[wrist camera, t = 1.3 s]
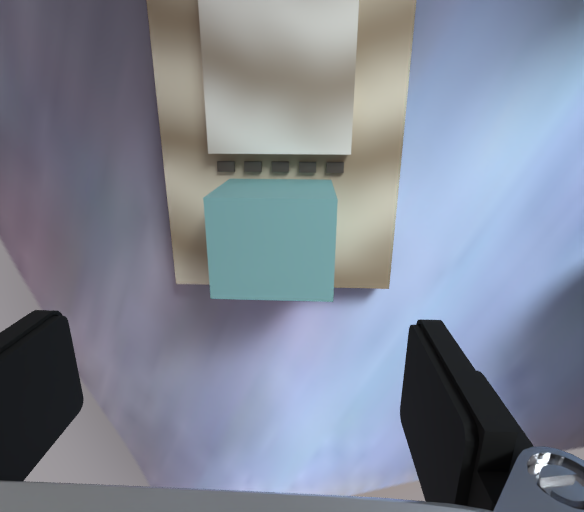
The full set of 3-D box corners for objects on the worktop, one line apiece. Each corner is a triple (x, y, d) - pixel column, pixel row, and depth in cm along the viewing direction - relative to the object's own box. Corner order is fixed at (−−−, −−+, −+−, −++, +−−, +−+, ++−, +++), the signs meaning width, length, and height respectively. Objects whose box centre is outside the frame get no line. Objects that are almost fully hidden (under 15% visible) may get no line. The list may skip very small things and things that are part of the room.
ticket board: (156, -27, 22) (133, -49, 19) (410, -31, 21) (426, -54, 18) (185, 272, 27) (170, 290, 25) (383, 276, 27) (391, 295, 24)
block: (229, 178, 23) (203, 197, 17) (331, 179, 23) (337, 199, 17) (233, 257, 25) (210, 298, 19) (328, 259, 24) (333, 301, 19)
